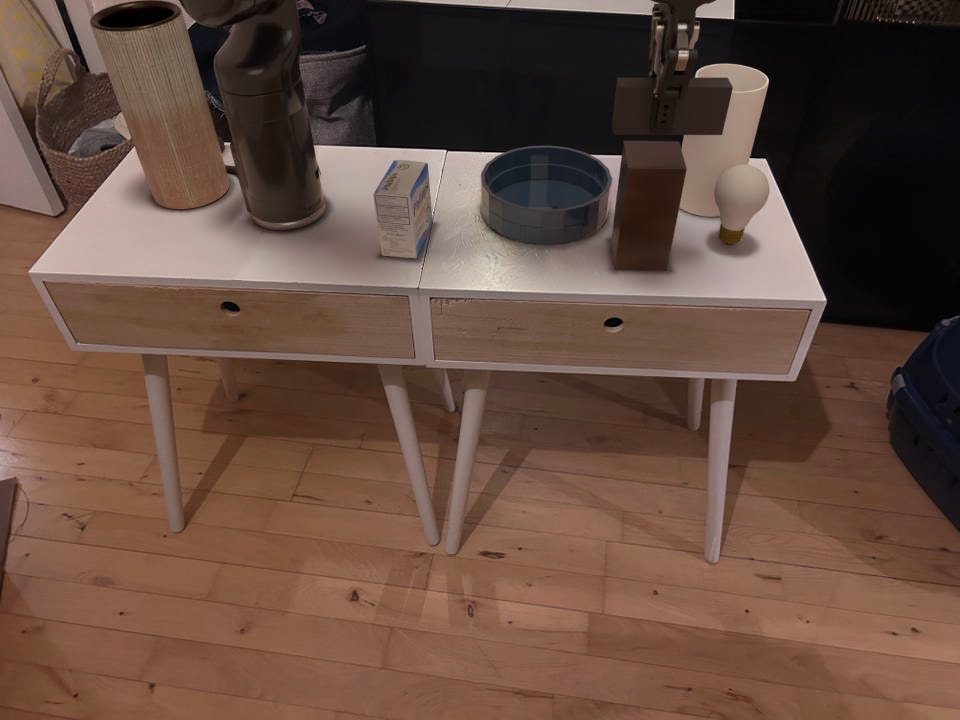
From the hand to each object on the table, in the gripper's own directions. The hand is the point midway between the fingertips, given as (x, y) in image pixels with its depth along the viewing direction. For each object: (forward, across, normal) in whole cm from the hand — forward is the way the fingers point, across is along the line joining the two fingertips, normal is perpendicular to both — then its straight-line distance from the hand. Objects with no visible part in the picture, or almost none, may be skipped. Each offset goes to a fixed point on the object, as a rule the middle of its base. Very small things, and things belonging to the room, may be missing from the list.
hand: (658, 124), depth 76 cm
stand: (+16, 0, 0) cm, 16 cm away
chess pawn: (+16, -5, -10) cm, 19 cm away
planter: (+17, -13, -58) cm, 62 cm away
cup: (+16, -13, +10) cm, 23 cm away
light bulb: (+16, -3, +11) cm, 20 cm away
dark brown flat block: (+1, 0, +1) cm, 1 cm away
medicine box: (+17, -2, -28) cm, 32 cm away
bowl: (+16, -9, -11) cm, 22 cm away
